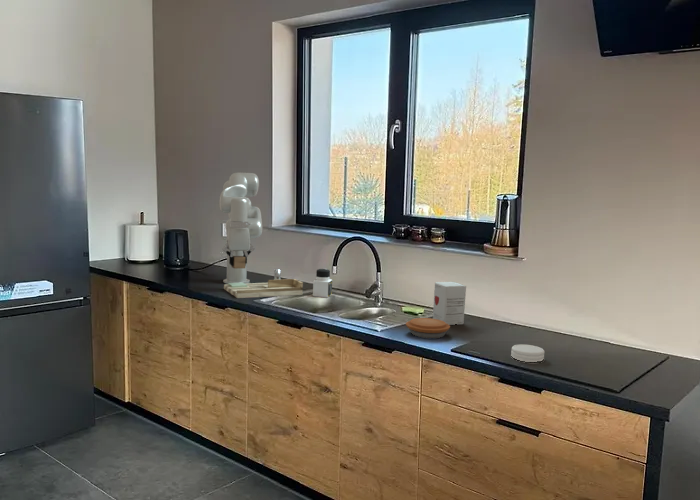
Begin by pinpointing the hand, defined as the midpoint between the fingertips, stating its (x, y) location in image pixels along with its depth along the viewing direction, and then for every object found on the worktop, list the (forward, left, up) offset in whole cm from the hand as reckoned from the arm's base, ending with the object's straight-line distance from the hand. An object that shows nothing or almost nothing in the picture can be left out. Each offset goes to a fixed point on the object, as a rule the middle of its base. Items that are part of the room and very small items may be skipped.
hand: (238, 264), depth 282 cm
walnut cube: (0, 0, -1) cm, 1 cm away
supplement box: (+81, +59, -12) cm, 101 cm away
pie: (+94, +41, -12) cm, 103 cm away
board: (+6, +10, -12) cm, 17 cm away
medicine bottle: (+21, +33, -12) cm, 41 cm away
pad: (0, 0, -10) cm, 10 cm away
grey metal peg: (0, +19, -10) cm, 21 cm away
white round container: (+129, +55, -12) cm, 141 cm away
